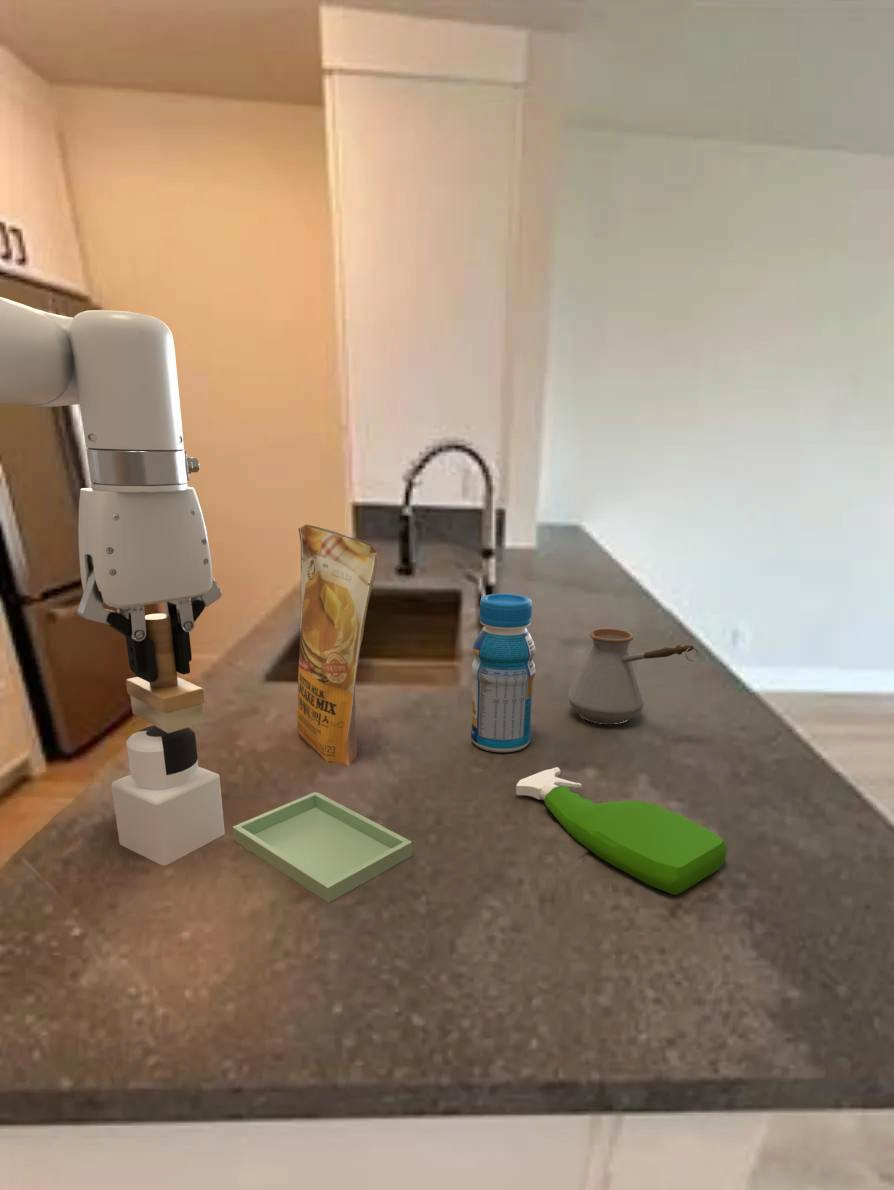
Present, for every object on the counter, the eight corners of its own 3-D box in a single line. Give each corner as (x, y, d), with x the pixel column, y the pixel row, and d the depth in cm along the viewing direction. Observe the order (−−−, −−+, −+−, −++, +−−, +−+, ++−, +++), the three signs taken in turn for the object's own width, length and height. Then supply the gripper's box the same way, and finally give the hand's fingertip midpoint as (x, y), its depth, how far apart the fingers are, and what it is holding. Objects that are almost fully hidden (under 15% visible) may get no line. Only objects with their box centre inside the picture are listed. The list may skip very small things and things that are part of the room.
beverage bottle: (493, 760, 93) (499, 609, 87) (457, 737, 100) (460, 595, 94) (544, 745, 98) (552, 601, 92) (506, 725, 105) (512, 589, 99)
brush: (129, 713, 70) (116, 612, 67) (168, 703, 73) (156, 606, 70) (167, 734, 66) (155, 628, 62) (206, 723, 68) (196, 620, 65)
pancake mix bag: (330, 715, 106) (322, 521, 97) (385, 765, 91) (382, 541, 82) (284, 723, 102) (272, 523, 94) (334, 777, 87) (325, 544, 79)
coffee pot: (551, 710, 111) (557, 615, 106) (607, 697, 117) (615, 607, 113) (651, 763, 94) (663, 653, 90) (711, 745, 100) (725, 641, 96)
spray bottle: (668, 905, 66) (494, 802, 83) (735, 863, 73) (561, 776, 90) (671, 876, 65) (495, 779, 83) (739, 837, 72) (563, 755, 89)
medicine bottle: (181, 816, 78) (169, 712, 74) (226, 836, 74) (216, 728, 70) (118, 846, 72) (102, 734, 68) (164, 869, 68) (150, 753, 65)
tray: (233, 843, 73) (232, 826, 72) (316, 806, 81) (315, 791, 80) (328, 906, 64) (327, 888, 63) (412, 858, 72) (412, 841, 71)
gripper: (204, 467, 70) (220, 649, 76) (16, 470, 58) (52, 685, 64) (247, 472, 66) (261, 665, 72) (54, 477, 54) (89, 707, 60)
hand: (162, 673), depth 68 cm, fingers closed on brush, 2 cm apart
